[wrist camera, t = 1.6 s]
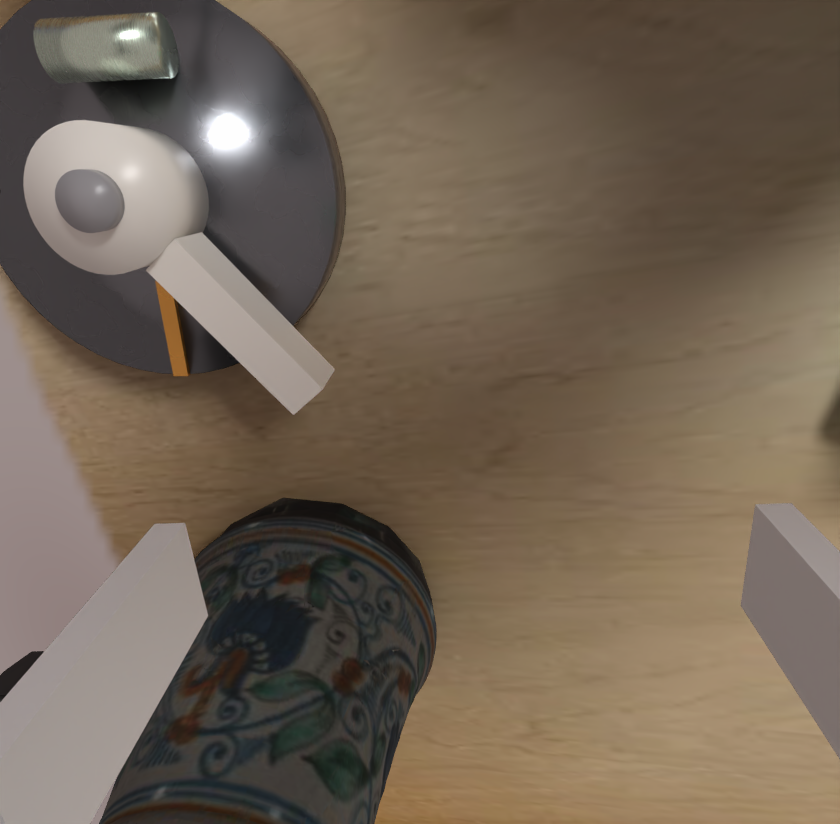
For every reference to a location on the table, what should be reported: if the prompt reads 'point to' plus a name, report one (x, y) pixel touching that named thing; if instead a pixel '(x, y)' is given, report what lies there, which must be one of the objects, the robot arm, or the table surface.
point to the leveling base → (199, 135)
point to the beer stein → (287, 677)
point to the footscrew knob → (161, 241)
